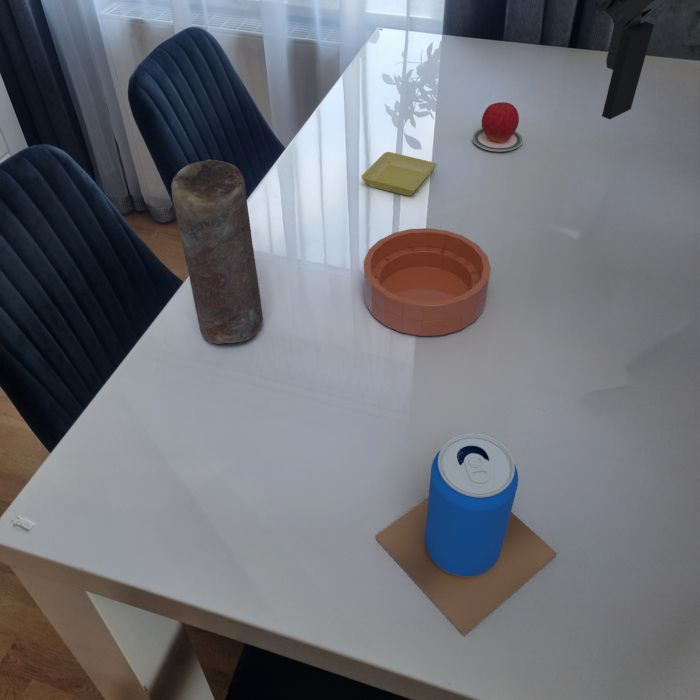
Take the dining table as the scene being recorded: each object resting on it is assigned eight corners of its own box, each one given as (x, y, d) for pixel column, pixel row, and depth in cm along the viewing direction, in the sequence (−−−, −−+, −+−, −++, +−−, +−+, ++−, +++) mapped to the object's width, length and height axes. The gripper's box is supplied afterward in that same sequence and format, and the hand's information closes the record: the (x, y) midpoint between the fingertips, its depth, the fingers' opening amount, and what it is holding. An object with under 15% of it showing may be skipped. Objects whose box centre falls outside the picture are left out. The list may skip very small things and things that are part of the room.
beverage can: (486, 507, 61) (503, 422, 53) (510, 573, 57) (534, 492, 48) (416, 519, 61) (422, 436, 52) (435, 587, 56) (445, 508, 48)
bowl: (510, 302, 82) (516, 269, 78) (420, 357, 76) (422, 323, 72) (427, 246, 90) (429, 214, 87) (340, 292, 84) (338, 259, 81)
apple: (464, 147, 109) (468, 108, 104) (481, 126, 114) (486, 87, 109) (513, 158, 106) (519, 118, 101) (528, 135, 111) (535, 96, 106)
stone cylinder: (269, 308, 82) (247, 158, 68) (262, 351, 77) (236, 198, 63) (207, 308, 83) (172, 158, 69) (195, 351, 77) (155, 198, 63)
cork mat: (556, 556, 58) (557, 553, 58) (464, 637, 54) (464, 633, 53) (464, 473, 65) (465, 469, 64) (375, 539, 60) (375, 535, 60)
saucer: (385, 162, 106) (386, 150, 105) (437, 175, 103) (438, 162, 102) (360, 189, 101) (359, 176, 99) (413, 203, 98) (414, 190, 96)
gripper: (1159, -226, 30) (898, 196, 45) (659, -248, 44) (588, 77, 59) (1103, -208, 27) (842, 239, 42) (585, -239, 41) (529, 102, 56)
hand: (693, 144), depth 50 cm, fingers open, 13 cm apart
